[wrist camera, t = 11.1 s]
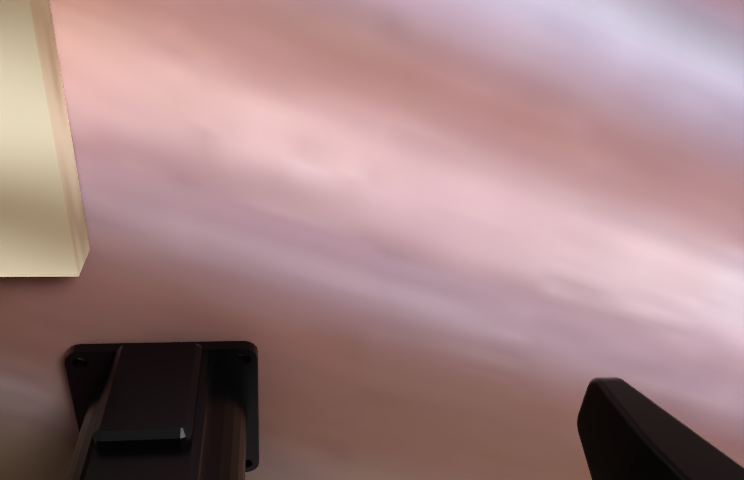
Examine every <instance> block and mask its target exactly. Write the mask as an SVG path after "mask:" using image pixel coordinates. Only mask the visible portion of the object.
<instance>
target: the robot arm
mask: <svg viewBox="0 0 744 480" xmlns="http://www.w3.org/2000/svg"><path fill="white" fill-rule="evenodd" d="M240 354H247V355H249V356H247V357H240V356H239V355H240ZM79 357H80V358H84V359H86V361H82V360H79V359H77V358H79ZM65 366H66V371H67V376H68V380H69V385H70V390H71V395H72V399H73V404H74V409H75V414H76V418H77V423H78V428H79V436H78V439H77V443H76V446H75V449H74V452H73V455H72V459H71V462H70V465H69V468H68V471H67V475H66V478H65V480H245V472H249V471H252V470H254V469H256V468H257V467H258V464H259V414H258V350H257V347H256V346H255V345H254V344H253V343H250V342H247V341H222V342H171V343H120V344H80V345H75V346H73V347H71V348H70V350H69V351H68V353H67V356H66V358H65ZM577 427H578V432H579V436H580V440H581V443H582V447H583V450H584V453H585V457H586V460H587V464H588V467H589V471H590V474H591V478H592V480H744V468H743V467H742V466H741V465H739V464H738V463H736V462H735V461H734V460H732V459H731V458H730V457H728V456H727V455H725V454H724V453H723V452H721V451H720V450H719V449H717V448H716V447H714V446H713V445H712V444H710V443H709V442H708V441H706V440H705V439H703V438H702V437H701V436H699V435H698V434H697V433H695V432H694V431H692V430H691V429H690V428H688V427H687V426H686V425H684V424H683V423H682V422H680V421H679V420H677V419H676V418H675V417H673V416H672V415H671V414H669V413H668V412H666V411H665V410H664V409H662V408H661V407H660V406H658V405H657V404H655V403H654V402H653V401H651V400H650V399H649V398H647V397H646V396H644V395H643V394H642V393H640V392H639V391H638V390H636V389H635V388H633V387H632V386H631V385H629V384H628V383H627V382H625V381H624V380H622V379H620V378H617V377H604V378H594V379H592V380H591V381H590V383H589V385H588V387H587V390H586V393H585V396H584V399H583V402H582V405H581V408H580V411H579V414H578V419H577ZM246 459H248V460H246Z"/></svg>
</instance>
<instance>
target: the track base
mask: <svg viewBox="0 0 744 480" xmlns="http://www.w3.org/2000/svg"><path fill="white" fill-rule="evenodd" d="M89 251H90V246H89V240H88V234H87V228H86V222H85V216H84V210H83V204H82V198H81V192H80V186H79V180H78V174H77V168H76V161H75V155H74V149H73V143H72V137H71V131H70V125H69V119H68V113H67V107H66V101H65V95H64V89H63V83H62V77H61V71H60V65H59V59H58V53H57V47H56V41H55V35H54V28H53V22H52V16H51V10H50V4H49V0H0V277H76V276H79V274H80V272H81V270H82V267H83V265H84V263H85V260H86V258H87V256H88V253H89Z"/></svg>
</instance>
